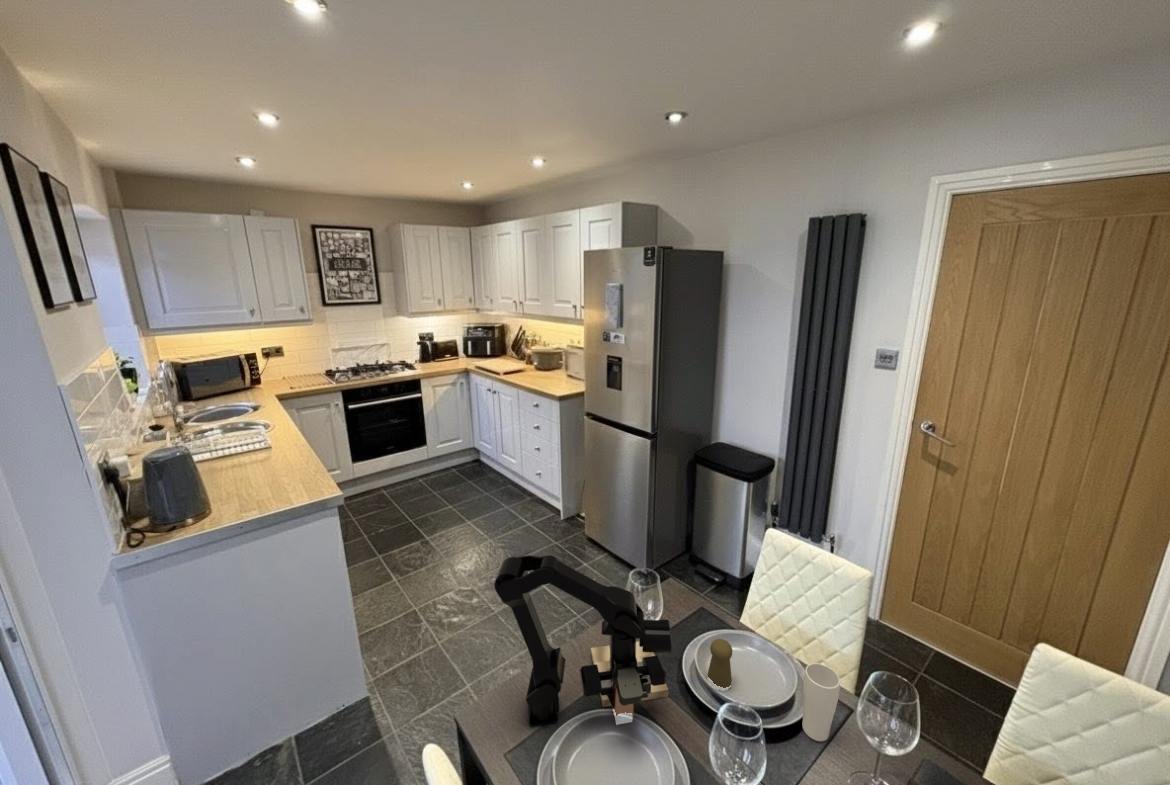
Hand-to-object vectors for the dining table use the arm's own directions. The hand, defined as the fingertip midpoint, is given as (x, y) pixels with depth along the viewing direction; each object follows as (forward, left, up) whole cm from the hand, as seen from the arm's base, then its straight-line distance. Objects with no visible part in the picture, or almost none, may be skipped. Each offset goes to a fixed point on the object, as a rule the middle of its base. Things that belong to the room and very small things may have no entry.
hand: (622, 705), depth 105 cm
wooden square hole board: (+4, +11, -3) cm, 12 cm away
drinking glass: (+41, -11, -3) cm, 43 cm away
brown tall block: (0, 0, -3) cm, 3 cm away
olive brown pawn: (+26, +5, -3) cm, 27 cm away
